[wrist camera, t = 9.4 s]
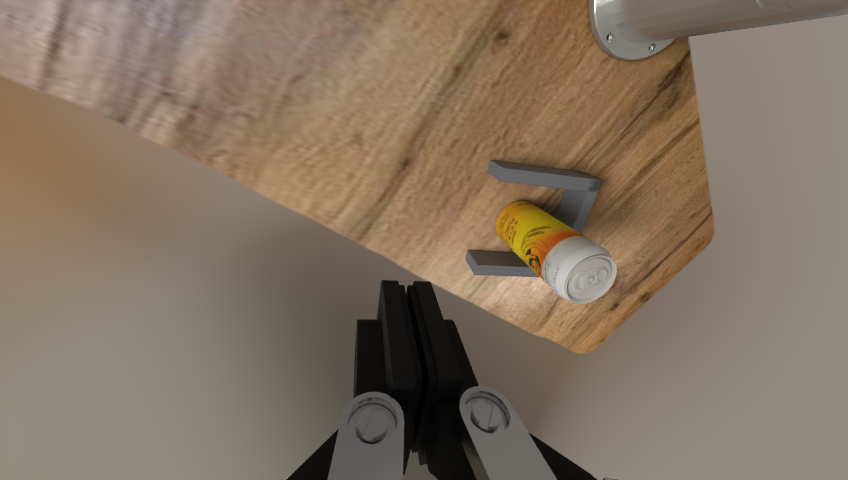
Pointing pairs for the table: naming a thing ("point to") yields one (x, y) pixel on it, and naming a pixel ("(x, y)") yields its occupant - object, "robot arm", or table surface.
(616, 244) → the table surface
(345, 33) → the table surface
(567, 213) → the corral
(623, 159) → the table surface
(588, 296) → the beer can
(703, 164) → the table surface
